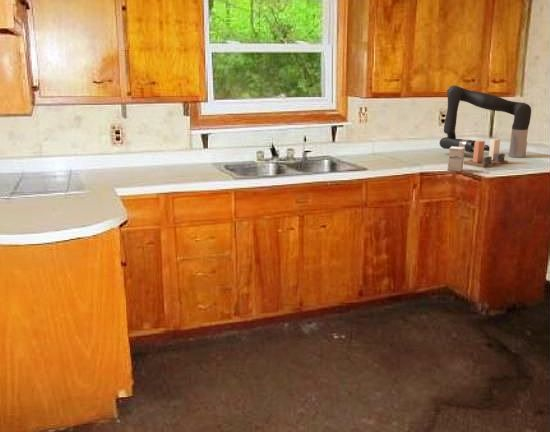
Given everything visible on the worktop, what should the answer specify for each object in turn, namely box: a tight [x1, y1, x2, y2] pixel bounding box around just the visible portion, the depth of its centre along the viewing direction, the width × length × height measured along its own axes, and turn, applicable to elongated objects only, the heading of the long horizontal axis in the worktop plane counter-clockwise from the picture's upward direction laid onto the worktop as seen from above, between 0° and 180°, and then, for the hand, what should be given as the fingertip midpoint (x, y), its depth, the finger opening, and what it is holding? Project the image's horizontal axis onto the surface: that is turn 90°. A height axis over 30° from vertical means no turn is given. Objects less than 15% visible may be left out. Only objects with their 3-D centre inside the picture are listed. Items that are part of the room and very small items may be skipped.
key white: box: [488, 138, 501, 160], centre depth 316 cm, size 5×3×12 cm, turn 121°
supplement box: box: [447, 146, 465, 172], centre depth 297 cm, size 7×7×13 cm
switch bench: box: [463, 153, 509, 168], centre depth 314 cm, size 22×14×6 cm, turn 121°
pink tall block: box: [472, 140, 486, 163], centre depth 309 cm, size 5×3×12 cm, turn 121°
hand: (492, 149), depth 318 cm, fingers closed
